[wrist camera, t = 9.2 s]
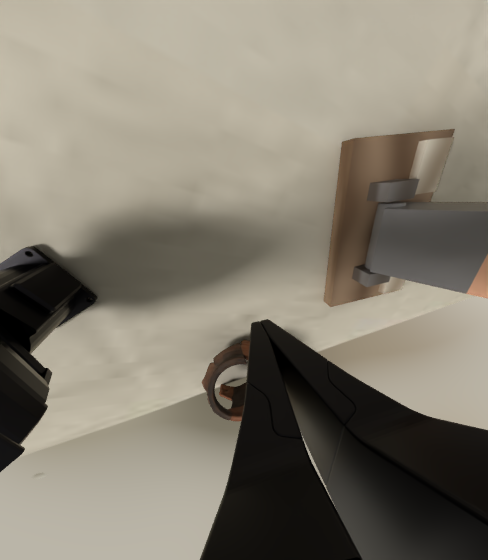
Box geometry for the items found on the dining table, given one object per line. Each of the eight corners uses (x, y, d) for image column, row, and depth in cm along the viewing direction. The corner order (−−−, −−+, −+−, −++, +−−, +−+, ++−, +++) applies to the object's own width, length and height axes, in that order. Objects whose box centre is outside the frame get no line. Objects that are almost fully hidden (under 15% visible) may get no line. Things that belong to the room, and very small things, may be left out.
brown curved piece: (200, 388, 29) (190, 426, 21) (215, 327, 30) (211, 341, 21) (275, 402, 30) (294, 444, 22) (287, 342, 31) (310, 361, 22)
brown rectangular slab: (323, 300, 26) (342, 317, 23) (342, 141, 18) (376, 132, 14) (390, 284, 28) (417, 298, 24) (437, 132, 19) (487, 122, 16)
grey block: (358, 270, 21) (493, 302, 15) (371, 206, 18) (553, 209, 11) (371, 259, 23) (493, 281, 17) (384, 199, 20) (542, 199, 14)
